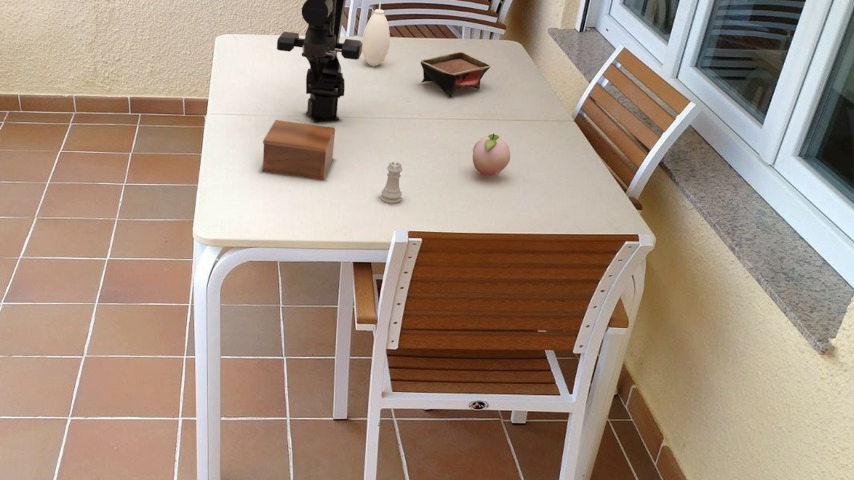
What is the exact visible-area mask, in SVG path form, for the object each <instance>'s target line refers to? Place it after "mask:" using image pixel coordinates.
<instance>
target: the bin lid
mask: <svg viewBox="0 0 854 480" xmlns="http://www.w3.org/2000/svg"><path fill="white" fill-rule="evenodd" d="M334 132H335V133H336V127H334V126H333V127H332V126H326V125H325V126H324V125H318V124H311V123H303V122H295V121H287V120H282V119H281V120H280V119H275V120H274V122H273V123H272V126H271V127H270V129H269V130H268V132H267V134H266V135H265V137H264V138H263V139H262V141H263V142H262V144H263V145H264V144H270V145H277V146H285V147H292V148H299V149H307V150H314V151H321V152H326V149H327V147H328V145H329V143H330V141H331V139H332V136H333V134H334Z"/></svg>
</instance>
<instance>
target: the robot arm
mask: <svg viewBox="0 0 854 480" xmlns="http://www.w3.org/2000/svg"><path fill="white" fill-rule="evenodd" d="M346 1H347V0H306V1H305V2H304V3H303V5H302V7H301V16H302V19H303V20H304V21H305V23H306V24H307V25H308V26H307V29H306V31H305V35H304V38H300V34H299V32H292V31H291V32H290V31H283V32H282V33H280V35H279V36H278V37H277V41H276V50H278V51H281V52H291V51H293V50H294V48H295V47H296V48H302V52H301V57H304V58H306V60H307V61H308V63H309V68H308V69H307V71H306V76H305V77H306V79H305V81H306V82H305V93H306V95H309V97H308V99H307V108H306V112H305V114H306V115H307V116H308V117H309V118H310V119H311V120H312V121H313V122H315V123H325V122H326V123H327V122H335V121H340V117H339V116H338V103H339V99H340V98H341V97H344V96H345V89H346V87H345V85H346V84H345V78H344V75H343V74H344V73H343V72H342V66H341V63H340V61H339V58H338V53H341V56H342V58H343V59H346V60H347V59H348V60H359V59H360V57H361V55H362V54H363V53H362V40H360V39H359V40H358V39H351V38H345V39H344V41H343V43H342V42H340V39H341V33H342V26H343V20H344V13H345V7H346Z"/></svg>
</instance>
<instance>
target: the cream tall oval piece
mask: <svg viewBox="0 0 854 480" xmlns="http://www.w3.org/2000/svg"><path fill="white" fill-rule="evenodd" d="M381 6H382V1H381V0H379V3H378V8H376V9H375V10H374V13H373V14H372V15H371V16H370V17H369V19H368V21H367V23H366V25H365V28H364V30H363V34H362V38H361V42H362V53H361V54H362V56H363V59H364V61H365V62H367V64H368V65H370V66H371V67H377V66H379V65H380V64H381V63H383V62H384V61H385V59H386V58H387V55H388V54H389V53H388V52H389V51H390V50H389V49H390V43H391V33H390V26H389V22H388V20H387V17H386V15H385V11H384V10H383V9H381Z"/></svg>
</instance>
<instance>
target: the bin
mask: <svg viewBox="0 0 854 480" xmlns="http://www.w3.org/2000/svg"><path fill="white" fill-rule="evenodd" d="M335 134H336V131H335V132H334V134H333V136H332V139H331V141H330V143H329V145H328V147H327V149H326V152H321V151H314V150H307V149H299V148H292V147H285V146H277V145H270V144H263V156H262V159H263V160H262V172H265V173H268V174H269V173H270V174H278V175H283V176H291V177H299V178H305V179H312V180H313V179H314V180H319V181H324V180H325V177H326V176H327V173H328V171H329V169H330V166H331V164H332V161H333V157H334V148H335V147H334V145H335Z"/></svg>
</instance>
